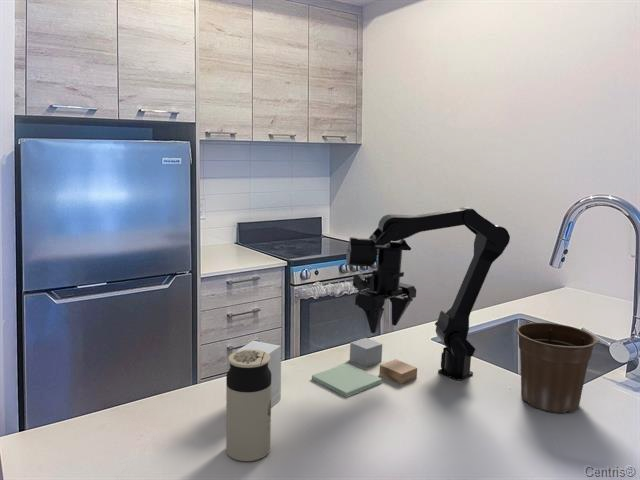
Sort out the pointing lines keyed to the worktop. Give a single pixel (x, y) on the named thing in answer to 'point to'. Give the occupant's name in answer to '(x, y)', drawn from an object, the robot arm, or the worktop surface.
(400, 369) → the walnut block
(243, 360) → the travel mug
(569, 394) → the plant pot
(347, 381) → the baseplate
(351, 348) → the slate block
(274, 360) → the supplement box
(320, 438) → the worktop surface
